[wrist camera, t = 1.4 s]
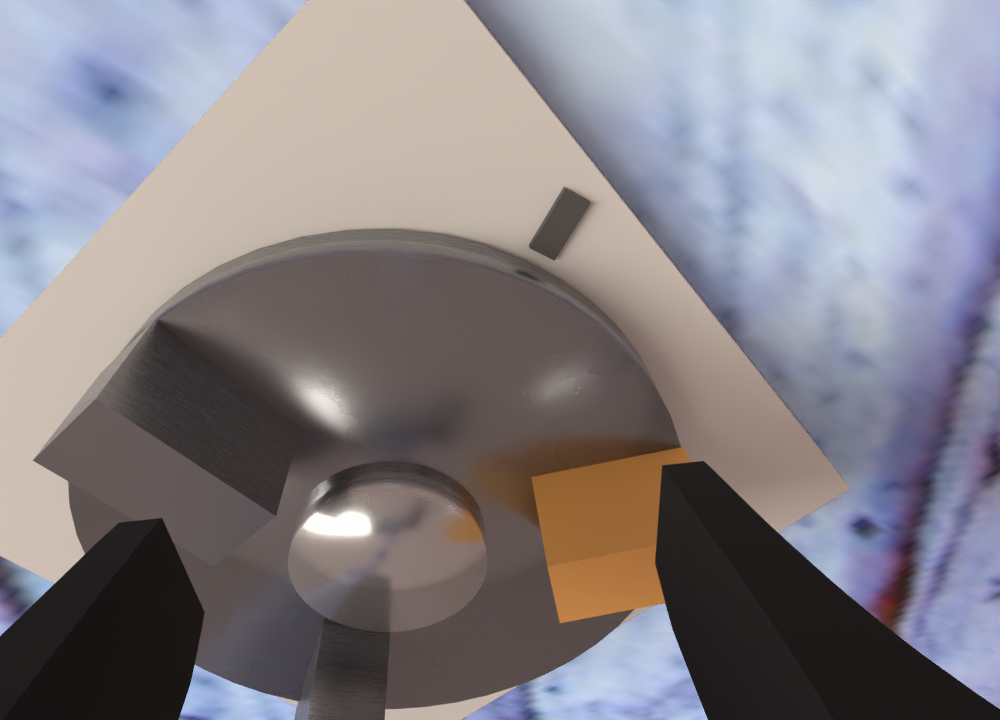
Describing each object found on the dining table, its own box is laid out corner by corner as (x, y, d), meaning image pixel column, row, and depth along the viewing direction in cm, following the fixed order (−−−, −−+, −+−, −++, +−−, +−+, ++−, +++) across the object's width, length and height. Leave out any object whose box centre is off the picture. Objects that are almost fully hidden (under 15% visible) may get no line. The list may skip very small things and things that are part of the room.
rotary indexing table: (767, 493, 21) (843, 619, 17) (396, 720, 26) (389, 861, 22) (391, 74, 14) (374, 125, 10) (-27, 491, 19) (-150, 639, 15)
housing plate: (827, 458, 23) (854, 493, 21) (398, 720, 29) (396, 762, 27) (395, -88, 14) (390, -91, 13) (-98, 451, 20) (-141, 492, 18)
